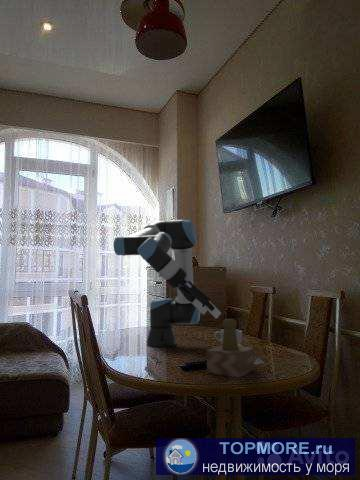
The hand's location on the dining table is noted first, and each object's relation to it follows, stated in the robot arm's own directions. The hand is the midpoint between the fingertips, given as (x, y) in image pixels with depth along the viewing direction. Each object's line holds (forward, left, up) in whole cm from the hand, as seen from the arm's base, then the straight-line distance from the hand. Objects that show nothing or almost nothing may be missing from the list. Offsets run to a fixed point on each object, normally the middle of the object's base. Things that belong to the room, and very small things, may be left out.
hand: (211, 313), depth 136 cm
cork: (+4, +6, -13) cm, 15 cm away
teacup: (-18, +47, -21) cm, 54 cm away
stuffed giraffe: (-1, +23, -22) cm, 32 cm away
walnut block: (+4, +6, -21) cm, 22 cm away
